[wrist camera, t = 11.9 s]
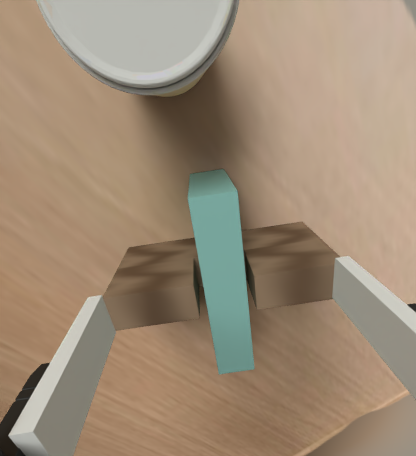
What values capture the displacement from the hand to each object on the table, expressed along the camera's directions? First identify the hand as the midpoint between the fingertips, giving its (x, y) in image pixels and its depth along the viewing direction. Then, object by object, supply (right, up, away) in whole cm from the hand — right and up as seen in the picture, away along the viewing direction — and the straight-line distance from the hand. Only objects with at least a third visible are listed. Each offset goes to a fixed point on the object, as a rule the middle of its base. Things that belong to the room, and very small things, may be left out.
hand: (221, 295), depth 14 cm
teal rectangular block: (0, +2, +15) cm, 15 cm away
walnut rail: (0, +2, +15) cm, 15 cm away
